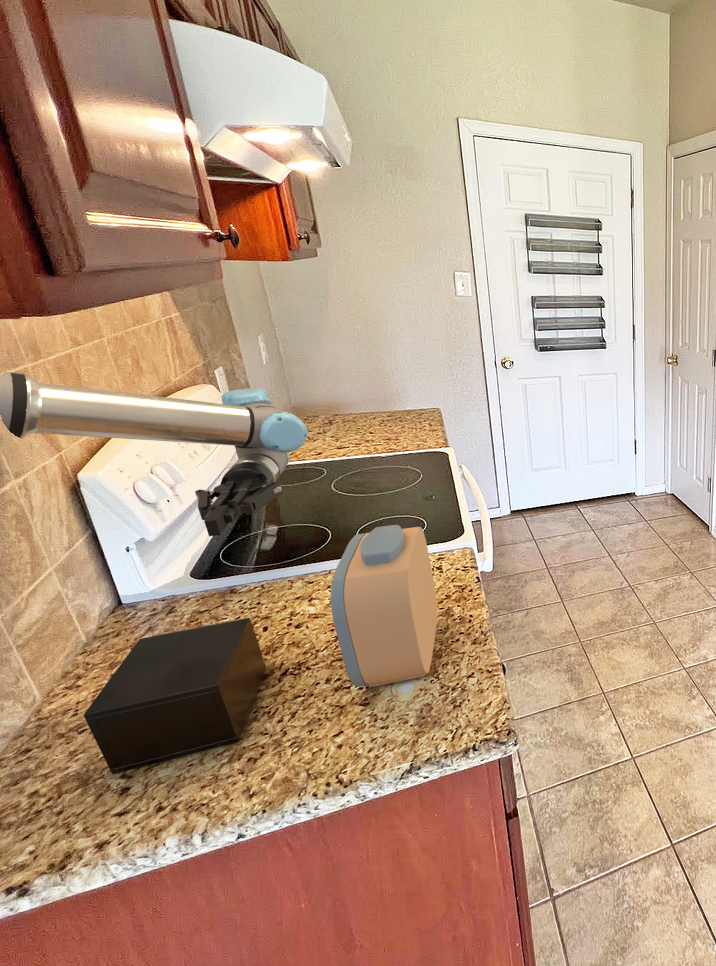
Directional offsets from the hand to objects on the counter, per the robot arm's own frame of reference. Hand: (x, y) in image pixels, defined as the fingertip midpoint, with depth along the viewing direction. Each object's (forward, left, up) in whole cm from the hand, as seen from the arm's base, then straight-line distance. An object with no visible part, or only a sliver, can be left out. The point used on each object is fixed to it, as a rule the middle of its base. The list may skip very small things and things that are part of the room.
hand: (212, 528), depth 93 cm
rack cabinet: (+8, -22, -19) cm, 30 cm away
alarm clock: (+31, -11, -19) cm, 38 cm away
